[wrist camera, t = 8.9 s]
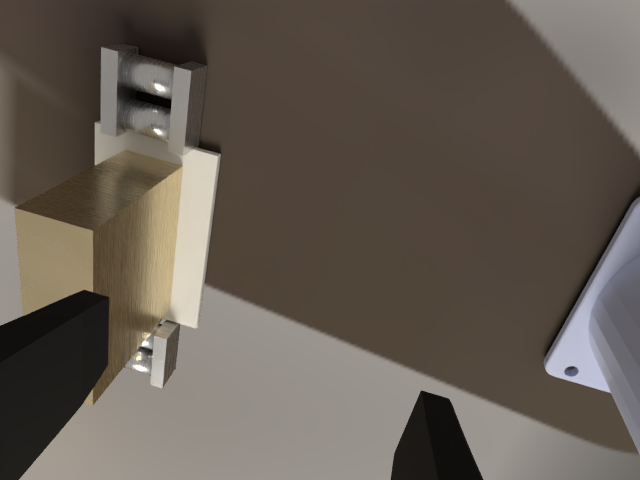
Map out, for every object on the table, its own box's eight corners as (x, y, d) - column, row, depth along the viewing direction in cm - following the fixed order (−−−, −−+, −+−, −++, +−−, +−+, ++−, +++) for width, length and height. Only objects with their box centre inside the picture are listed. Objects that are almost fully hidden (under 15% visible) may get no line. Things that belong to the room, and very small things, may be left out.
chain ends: (207, 65, 18) (191, 71, 17) (175, 368, 25) (162, 388, 23) (123, 43, 18) (101, 47, 17) (114, 350, 25) (98, 368, 24)
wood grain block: (183, 165, 19) (93, 230, 14) (170, 309, 23) (93, 405, 17) (124, 149, 20) (14, 208, 14) (120, 294, 23) (29, 385, 18)
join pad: (220, 153, 19) (218, 156, 19) (199, 324, 23) (196, 328, 23) (99, 120, 20) (94, 122, 19) (98, 294, 23) (94, 297, 23)
